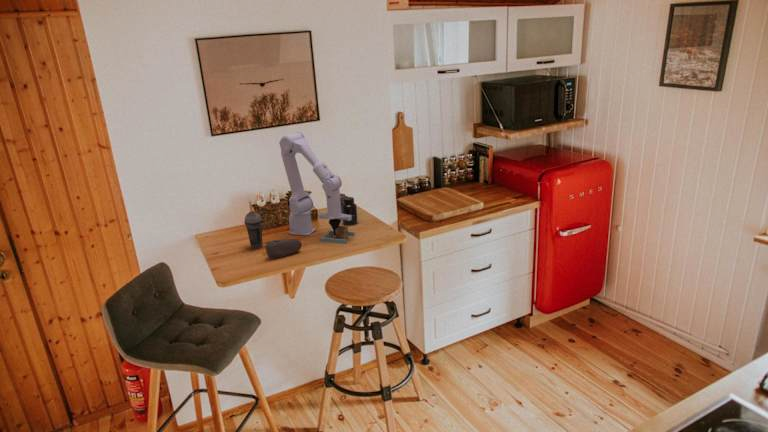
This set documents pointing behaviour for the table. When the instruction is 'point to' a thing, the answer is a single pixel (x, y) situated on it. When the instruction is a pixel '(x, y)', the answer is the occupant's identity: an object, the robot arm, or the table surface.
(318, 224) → the table surface
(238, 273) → the table surface
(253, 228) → the beverage cup
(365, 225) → the table surface
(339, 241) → the channel
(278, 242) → the perforated stone tool
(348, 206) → the supplement bottle
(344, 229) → the walnut block
